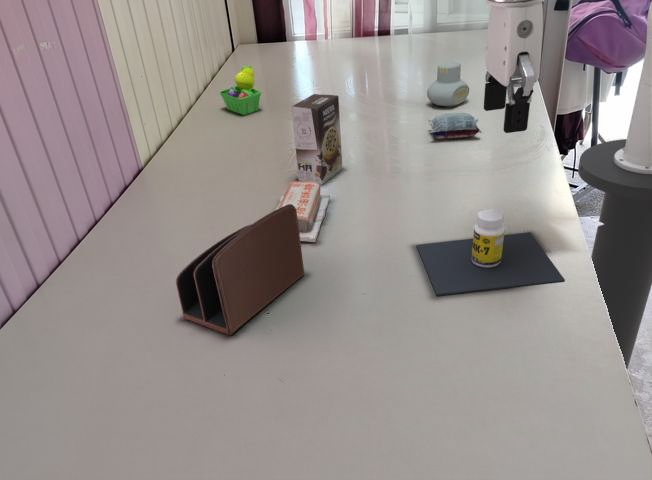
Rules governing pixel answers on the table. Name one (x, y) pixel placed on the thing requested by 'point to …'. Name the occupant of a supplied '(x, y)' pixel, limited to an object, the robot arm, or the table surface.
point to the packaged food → (454, 125)
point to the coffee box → (317, 137)
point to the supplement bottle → (488, 238)
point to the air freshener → (448, 85)
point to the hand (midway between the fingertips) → (504, 119)
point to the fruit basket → (242, 93)
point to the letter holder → (242, 272)
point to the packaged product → (306, 207)
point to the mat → (464, 276)
